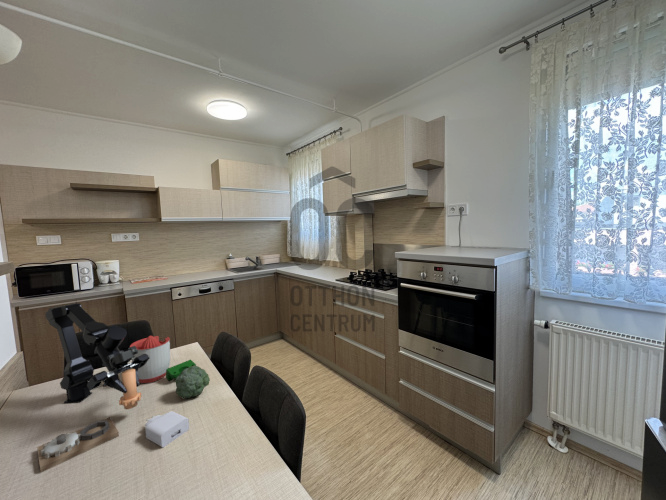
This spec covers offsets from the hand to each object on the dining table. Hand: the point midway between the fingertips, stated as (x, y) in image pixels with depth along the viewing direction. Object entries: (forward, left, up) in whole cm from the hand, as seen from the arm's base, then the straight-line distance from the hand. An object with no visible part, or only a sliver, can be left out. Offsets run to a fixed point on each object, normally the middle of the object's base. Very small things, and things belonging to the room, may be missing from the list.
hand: (132, 389), depth 101 cm
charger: (+14, -8, -11) cm, 20 cm away
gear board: (-10, -11, -11) cm, 19 cm away
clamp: (+4, +28, -11) cm, 30 cm away
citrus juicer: (-9, +31, -11) cm, 34 cm away
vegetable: (+15, +14, -11) cm, 23 cm away
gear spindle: (-1, +1, -7) cm, 7 cm away
